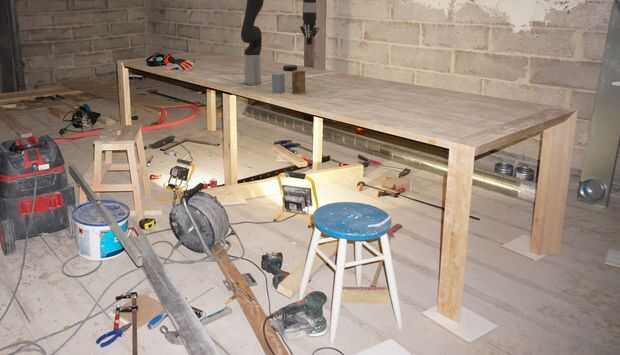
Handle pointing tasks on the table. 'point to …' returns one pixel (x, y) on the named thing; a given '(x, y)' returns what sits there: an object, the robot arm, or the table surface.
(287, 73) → the jar
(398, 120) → the table surface
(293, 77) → the walnut block
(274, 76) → the grey block
